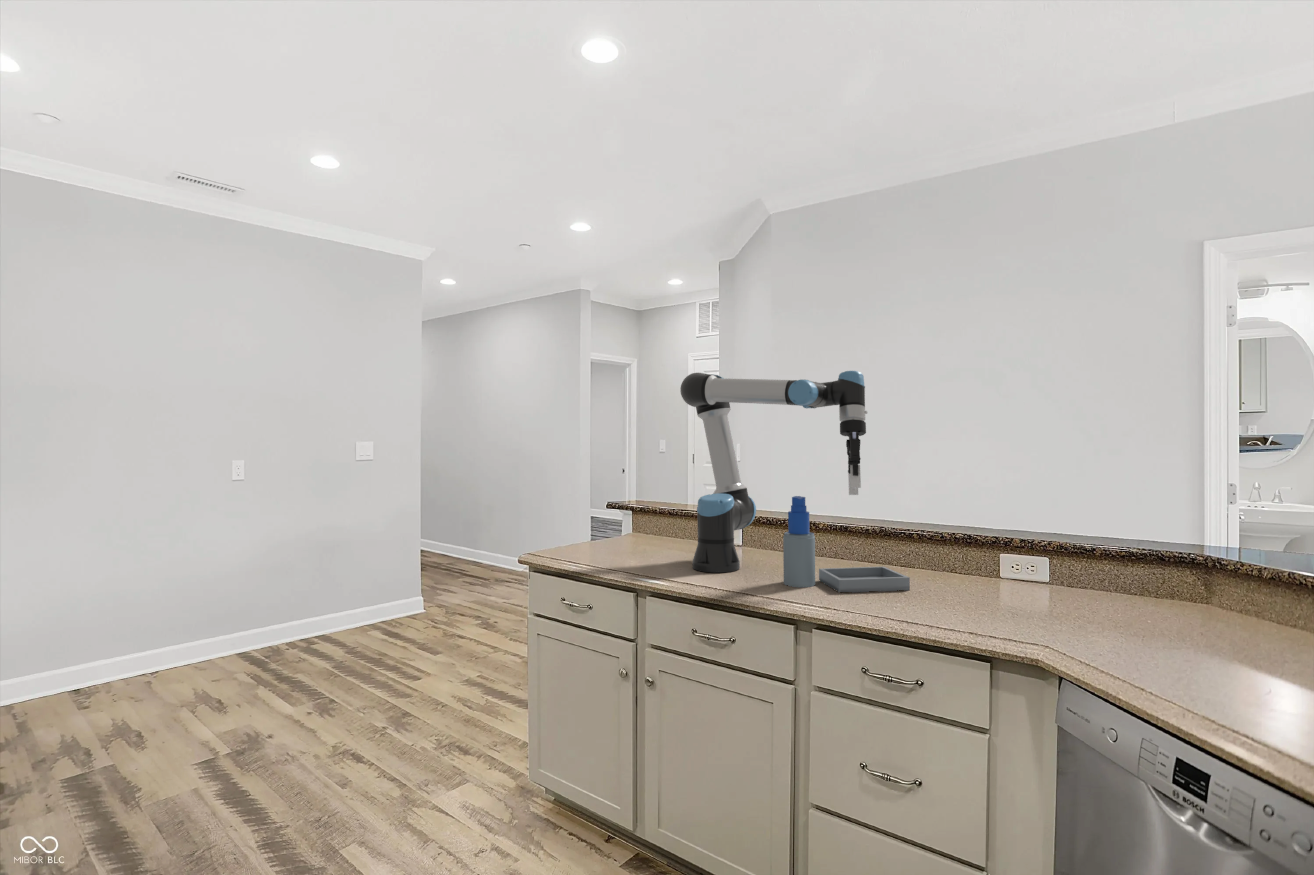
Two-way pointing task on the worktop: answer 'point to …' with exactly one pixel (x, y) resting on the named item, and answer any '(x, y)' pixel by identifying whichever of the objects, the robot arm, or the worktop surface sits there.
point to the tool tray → (864, 579)
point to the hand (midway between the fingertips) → (854, 491)
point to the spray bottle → (799, 547)
